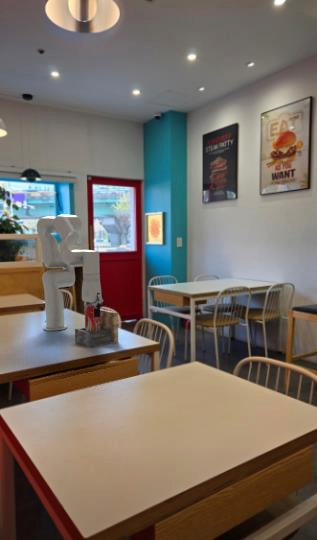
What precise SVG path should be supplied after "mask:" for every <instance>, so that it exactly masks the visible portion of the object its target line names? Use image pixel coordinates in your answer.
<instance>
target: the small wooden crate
mask: <svg viewBox="0 0 317 540" xmlns="http://www.w3.org/2000/svg"><path fill="white" fill-rule="evenodd" d="M118 314H119V313H118V312H117V311H112V310H108V309H103V308H100V321H101V330H100V331H98V332H93V333H90V332H86V331H85V327H81V328H74V335H75V336H74V338H75V341H74V342H76V343H78V344H81V345H83V346H86V347H90V348H95V347H99V346H102V345H107V344H111V343H113V344H117V343H119V315H118Z"/></svg>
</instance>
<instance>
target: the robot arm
mask: <svg viewBox="0 0 317 540" xmlns="http://www.w3.org/2000/svg"><path fill="white" fill-rule="evenodd" d="M82 227H83V223H82V219H81V218H80V217H79V216H78V215H74V214H59V215H56V216H44V217H43V216H42V217H40V218H39V219H38V220H37V223H36V232H37V235H38V238H39V241H40V246H41V253H42V262H43V266H44V267H45V268H49V269H50V268H51V269H53V270H47V271H45V272H44V273H43V274H42V276H41V277H42V285H43V289H44V306H45V307H44V308H45V321H44V322H45V326H43V330H44V331H46V332H47V331H48V332H49V331H50V332H54V331H61V330H62V331H63V330H66V329H67V328H68V324H65V309H64V308H65V307H64V306H65V305H64V294H63V292H62V291H61V290H60V288H66V287H72V286H73V285H75V282H76V273H75V267H82V284H81V300H82V303H83V307H85V306H86V304H89V303H93V304H94V307H95V309H94V317H100V309H102V305H103V303H104V299H103V297H102V287H101V286H102V285H101V278H100V277H101V275H100V252H99V251H98V250H90V249H70V248H69V247H71V246H72V245H74V244H76V242H78V241H79V237H80V234H79V233H78V232H79V231H81V230H82ZM53 234H57V235H58V237H59V238H60V240H61V241H60V244H58V241H57V239H56V237H55V236H54V235H53ZM57 268H62V269H57ZM96 303H98V304H97V305H96Z"/></svg>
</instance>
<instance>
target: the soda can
mask: <svg viewBox="0 0 317 540" xmlns="http://www.w3.org/2000/svg"><path fill="white" fill-rule="evenodd" d="M97 304H98V303H96V305H97ZM94 309H95V307H94V304H93V303H89V304H86V306H84V328H85V331H86V332H90V333H93V332H98V331H100V330H101V321H100V317H94Z"/></svg>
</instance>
